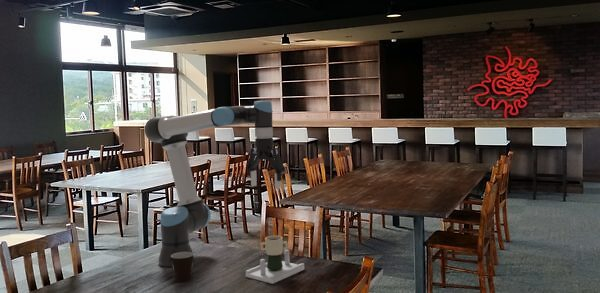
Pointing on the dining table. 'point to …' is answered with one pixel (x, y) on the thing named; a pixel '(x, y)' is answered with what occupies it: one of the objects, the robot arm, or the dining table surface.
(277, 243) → the character mug
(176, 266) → the coffee mug
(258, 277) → the tray
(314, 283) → the dining table surface
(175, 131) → the robot arm
